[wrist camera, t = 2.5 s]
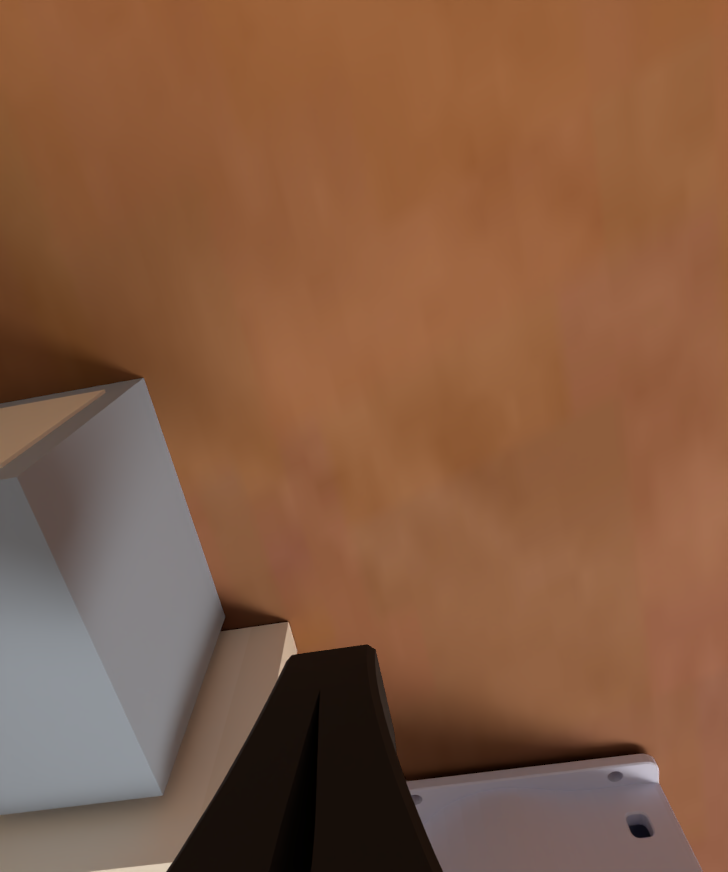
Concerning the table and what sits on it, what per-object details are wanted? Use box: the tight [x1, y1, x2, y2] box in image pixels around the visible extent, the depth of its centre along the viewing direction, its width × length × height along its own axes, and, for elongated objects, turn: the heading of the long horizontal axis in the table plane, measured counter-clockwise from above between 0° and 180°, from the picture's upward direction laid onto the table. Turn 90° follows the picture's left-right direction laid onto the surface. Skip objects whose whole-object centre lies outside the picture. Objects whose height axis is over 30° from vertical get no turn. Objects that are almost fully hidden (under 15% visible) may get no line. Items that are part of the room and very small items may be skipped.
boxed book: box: [0, 378, 225, 815], centre depth 14 cm, size 4×8×6 cm, turn 10°
